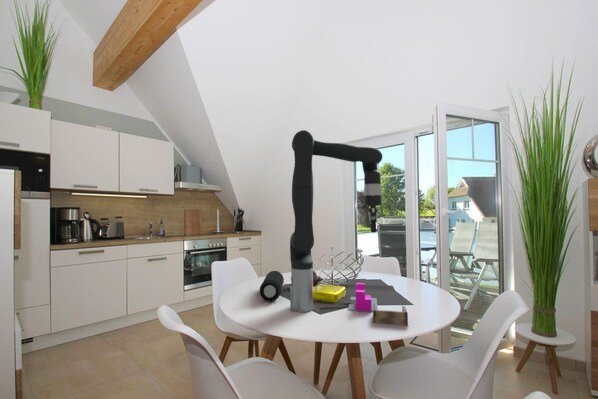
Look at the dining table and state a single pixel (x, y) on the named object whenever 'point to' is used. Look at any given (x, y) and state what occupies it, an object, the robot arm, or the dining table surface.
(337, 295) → the element tile
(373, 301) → the slate mat
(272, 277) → the portable speaker
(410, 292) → the dining table surface
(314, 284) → the pine cone
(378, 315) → the walnut bracket
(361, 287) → the toy block
